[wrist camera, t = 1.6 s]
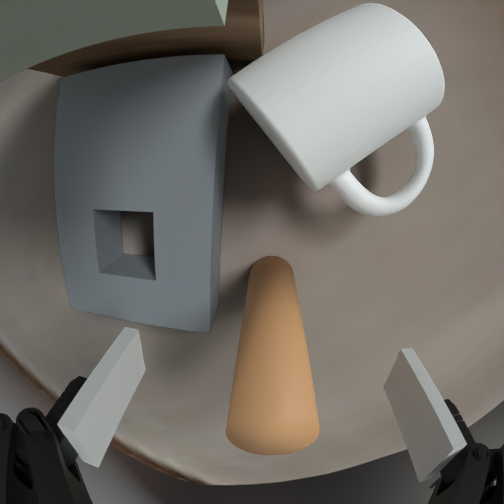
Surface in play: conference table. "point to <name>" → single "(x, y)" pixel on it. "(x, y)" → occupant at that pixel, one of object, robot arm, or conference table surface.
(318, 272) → the conference table surface
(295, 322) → the peg
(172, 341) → the conference table surface
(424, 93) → the mug
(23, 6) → the panel
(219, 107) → the socket board
